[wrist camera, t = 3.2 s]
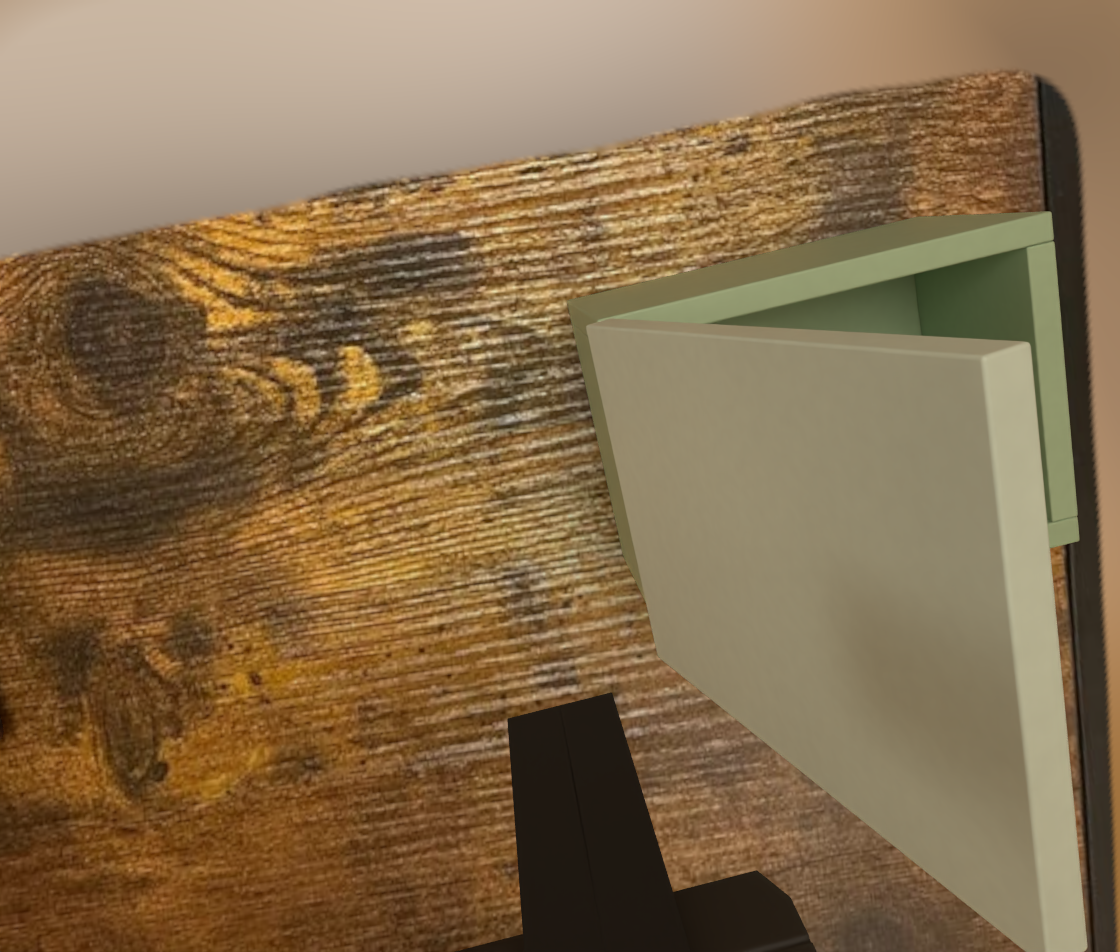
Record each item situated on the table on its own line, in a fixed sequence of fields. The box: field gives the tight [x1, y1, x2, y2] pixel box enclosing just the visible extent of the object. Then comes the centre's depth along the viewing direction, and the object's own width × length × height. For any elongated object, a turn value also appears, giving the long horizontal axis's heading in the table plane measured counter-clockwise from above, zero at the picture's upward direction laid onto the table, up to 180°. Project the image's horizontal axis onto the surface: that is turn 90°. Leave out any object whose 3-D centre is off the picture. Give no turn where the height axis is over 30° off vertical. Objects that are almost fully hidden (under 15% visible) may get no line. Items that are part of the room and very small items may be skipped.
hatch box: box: [567, 212, 1079, 602], centre depth 30 cm, size 13×10×8 cm
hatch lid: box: [586, 319, 1087, 952], centre depth 19 cm, size 14×10×1 cm
